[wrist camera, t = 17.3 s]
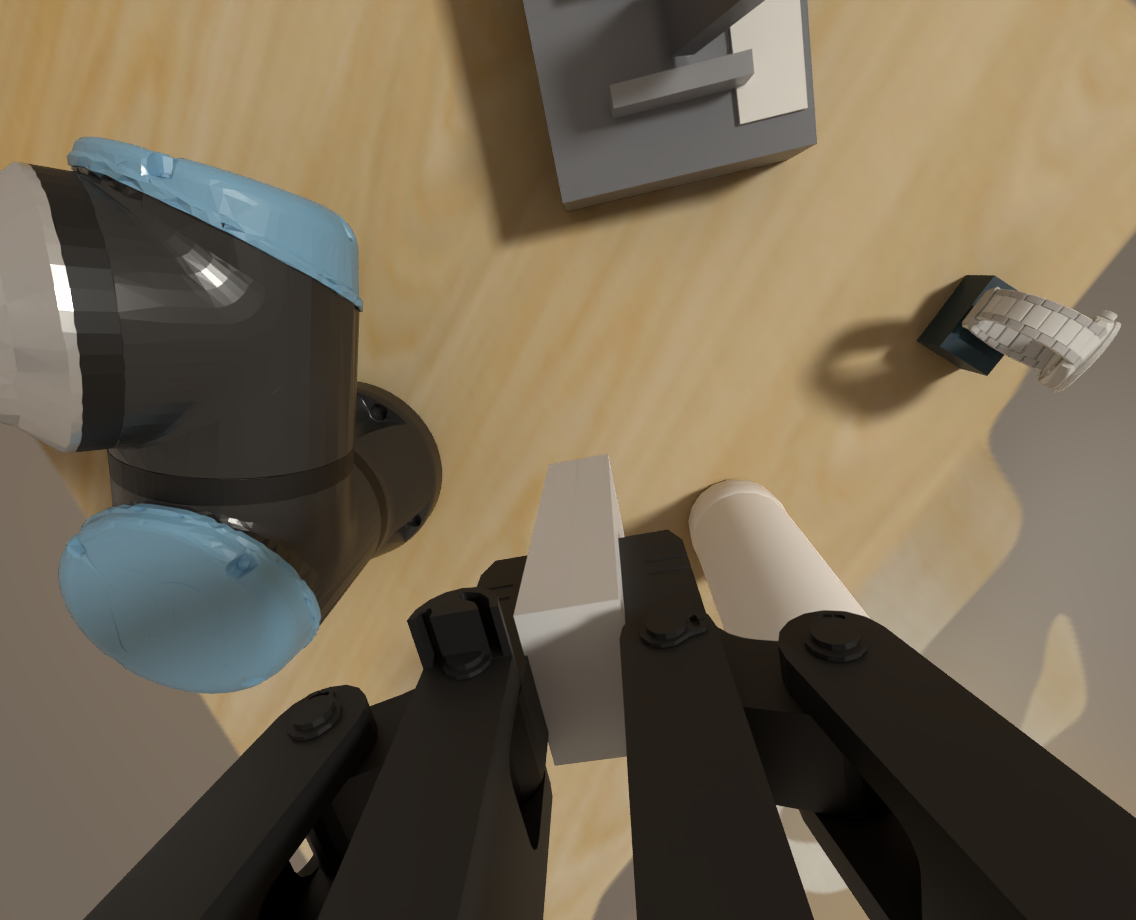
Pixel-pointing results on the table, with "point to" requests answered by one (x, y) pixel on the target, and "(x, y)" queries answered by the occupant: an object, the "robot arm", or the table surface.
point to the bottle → (760, 562)
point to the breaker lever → (701, 21)
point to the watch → (1017, 332)
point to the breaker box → (667, 95)
